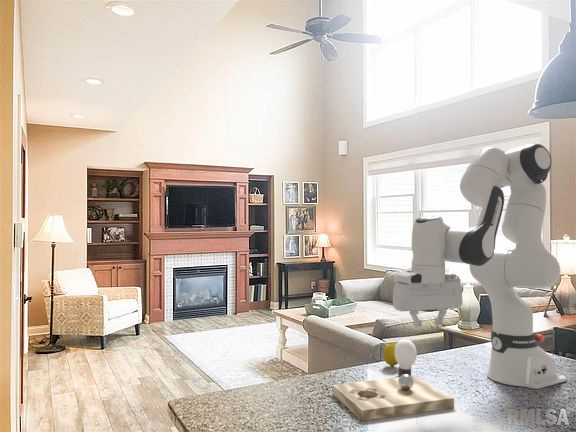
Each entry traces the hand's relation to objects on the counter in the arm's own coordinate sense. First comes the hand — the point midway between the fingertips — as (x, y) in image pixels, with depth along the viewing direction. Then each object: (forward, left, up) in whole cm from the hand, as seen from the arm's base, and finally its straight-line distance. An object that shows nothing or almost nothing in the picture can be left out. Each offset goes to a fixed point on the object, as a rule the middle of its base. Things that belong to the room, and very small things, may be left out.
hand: (428, 325), depth 128 cm
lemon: (-4, -25, -19) cm, 32 cm away
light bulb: (-4, -17, -19) cm, 26 cm away
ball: (+7, 0, -15) cm, 16 cm away
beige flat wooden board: (+11, 0, -19) cm, 22 cm away
